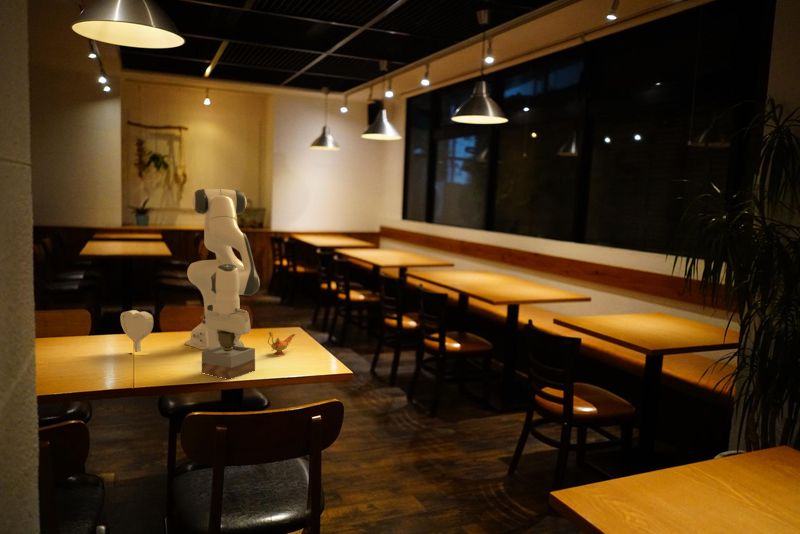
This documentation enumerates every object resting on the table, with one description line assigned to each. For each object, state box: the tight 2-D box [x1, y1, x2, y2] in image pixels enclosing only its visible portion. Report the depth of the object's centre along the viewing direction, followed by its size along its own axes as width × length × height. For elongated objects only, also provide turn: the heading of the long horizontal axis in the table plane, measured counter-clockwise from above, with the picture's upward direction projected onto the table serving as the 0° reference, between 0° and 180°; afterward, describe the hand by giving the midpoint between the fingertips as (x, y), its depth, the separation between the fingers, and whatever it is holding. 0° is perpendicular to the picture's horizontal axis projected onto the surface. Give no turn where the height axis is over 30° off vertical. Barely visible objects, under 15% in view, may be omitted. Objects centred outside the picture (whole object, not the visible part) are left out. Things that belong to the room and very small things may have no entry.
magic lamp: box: [267, 331, 296, 356], centre depth 259 cm, size 7×18×11 cm, turn 151°
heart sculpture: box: [119, 309, 154, 352], centre depth 253 cm, size 16×5×18 cm, turn 65°
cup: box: [218, 331, 236, 352], centre depth 229 cm, size 8×7×8 cm
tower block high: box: [201, 345, 256, 368], centre depth 230 cm, size 14×14×4 cm
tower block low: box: [201, 358, 256, 380], centre depth 230 cm, size 14×14×5 cm
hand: (227, 342), depth 229 cm, fingers closed on cup, 7 cm apart
